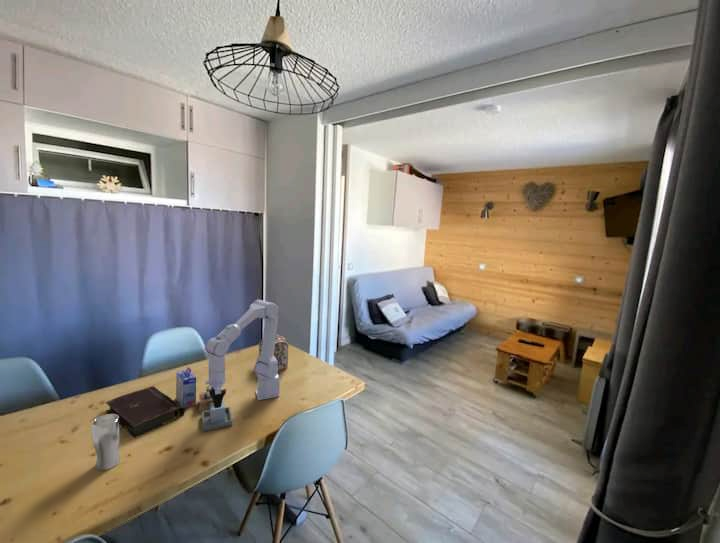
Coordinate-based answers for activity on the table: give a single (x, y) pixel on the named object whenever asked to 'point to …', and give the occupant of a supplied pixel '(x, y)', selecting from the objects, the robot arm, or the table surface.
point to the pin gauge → (208, 392)
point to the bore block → (204, 402)
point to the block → (217, 413)
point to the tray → (208, 426)
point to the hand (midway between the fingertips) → (217, 402)
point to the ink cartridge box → (186, 388)
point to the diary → (144, 410)
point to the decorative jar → (279, 351)
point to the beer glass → (106, 441)
